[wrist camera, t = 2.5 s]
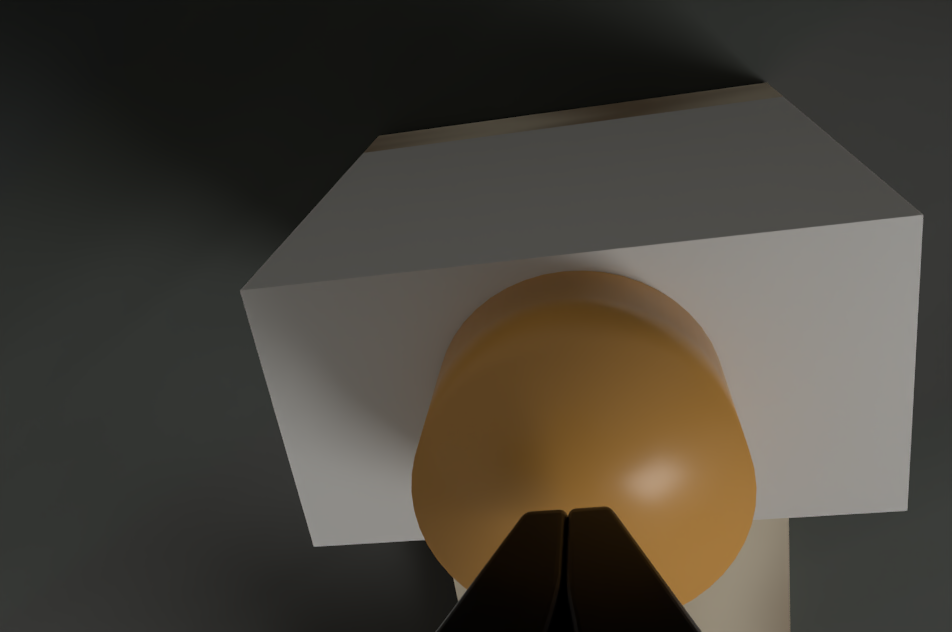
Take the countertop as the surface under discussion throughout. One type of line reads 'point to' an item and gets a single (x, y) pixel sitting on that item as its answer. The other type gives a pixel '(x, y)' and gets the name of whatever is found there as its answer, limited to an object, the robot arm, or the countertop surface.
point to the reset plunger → (585, 428)
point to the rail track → (767, 545)
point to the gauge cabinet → (611, 251)
